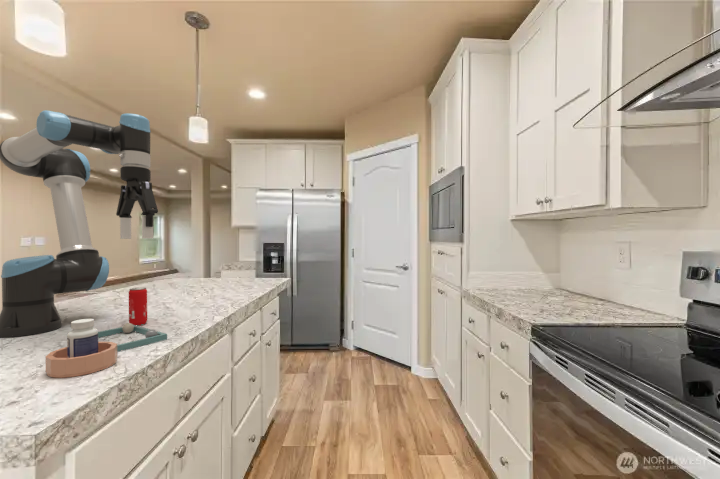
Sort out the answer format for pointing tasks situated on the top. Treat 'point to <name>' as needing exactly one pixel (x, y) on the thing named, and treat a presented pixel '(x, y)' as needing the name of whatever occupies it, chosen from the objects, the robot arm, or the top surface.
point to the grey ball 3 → (151, 333)
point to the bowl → (80, 361)
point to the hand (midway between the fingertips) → (136, 238)
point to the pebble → (128, 328)
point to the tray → (136, 343)
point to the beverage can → (137, 306)
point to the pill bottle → (82, 338)
